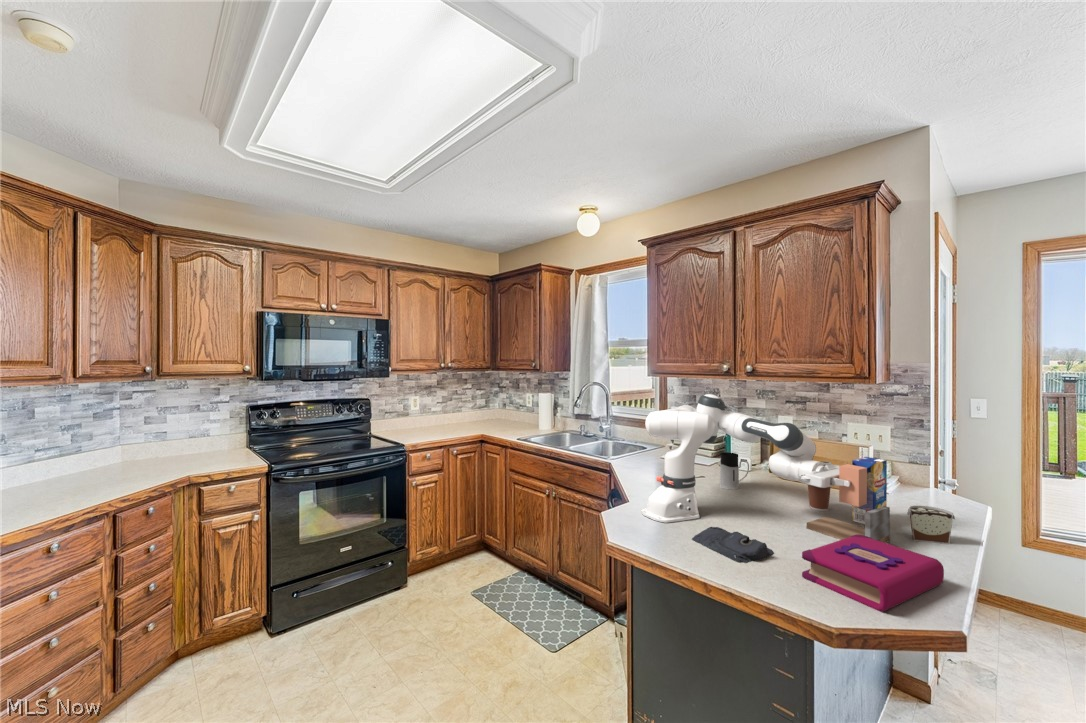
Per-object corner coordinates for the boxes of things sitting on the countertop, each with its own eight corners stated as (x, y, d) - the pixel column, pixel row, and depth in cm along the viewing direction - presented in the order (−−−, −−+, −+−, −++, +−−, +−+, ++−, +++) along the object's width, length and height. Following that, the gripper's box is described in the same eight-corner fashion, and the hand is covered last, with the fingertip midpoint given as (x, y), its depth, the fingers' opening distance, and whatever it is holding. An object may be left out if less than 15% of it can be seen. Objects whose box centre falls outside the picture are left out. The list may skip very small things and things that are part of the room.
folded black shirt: (720, 532, 159) (720, 518, 159) (778, 556, 140) (778, 540, 139) (687, 540, 152) (687, 526, 152) (743, 567, 133) (743, 551, 133)
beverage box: (886, 520, 168) (886, 459, 168) (873, 526, 162) (873, 464, 161) (865, 514, 174) (865, 456, 173) (852, 520, 167) (852, 460, 167)
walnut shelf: (870, 549, 143) (870, 513, 143) (806, 528, 161) (806, 496, 160) (889, 541, 149) (889, 507, 149) (826, 522, 166) (826, 491, 166)
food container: (945, 537, 152) (945, 507, 152) (955, 544, 146) (955, 513, 146) (900, 532, 156) (900, 503, 156) (908, 539, 150) (908, 509, 150)
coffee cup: (832, 513, 175) (832, 482, 175) (805, 509, 180) (805, 478, 180) (832, 506, 183) (832, 476, 183) (806, 503, 188) (806, 473, 188)
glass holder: (727, 483, 218) (727, 451, 218) (754, 490, 206) (754, 456, 206) (715, 485, 213) (715, 453, 213) (742, 493, 201) (742, 459, 201)
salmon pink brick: (858, 506, 149) (858, 469, 149) (839, 501, 154) (839, 465, 154) (866, 504, 152) (866, 467, 151) (847, 499, 157) (847, 464, 157)
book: (944, 587, 120) (944, 558, 120) (885, 616, 107) (885, 583, 107) (858, 556, 139) (858, 531, 139) (799, 577, 126) (799, 550, 126)
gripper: (796, 468, 159) (838, 477, 147) (829, 460, 169) (871, 469, 157) (796, 486, 159) (838, 497, 147) (829, 478, 169) (871, 487, 157)
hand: (855, 482), depth 152 cm, fingers closed on salmon pink brick, 5 cm apart
